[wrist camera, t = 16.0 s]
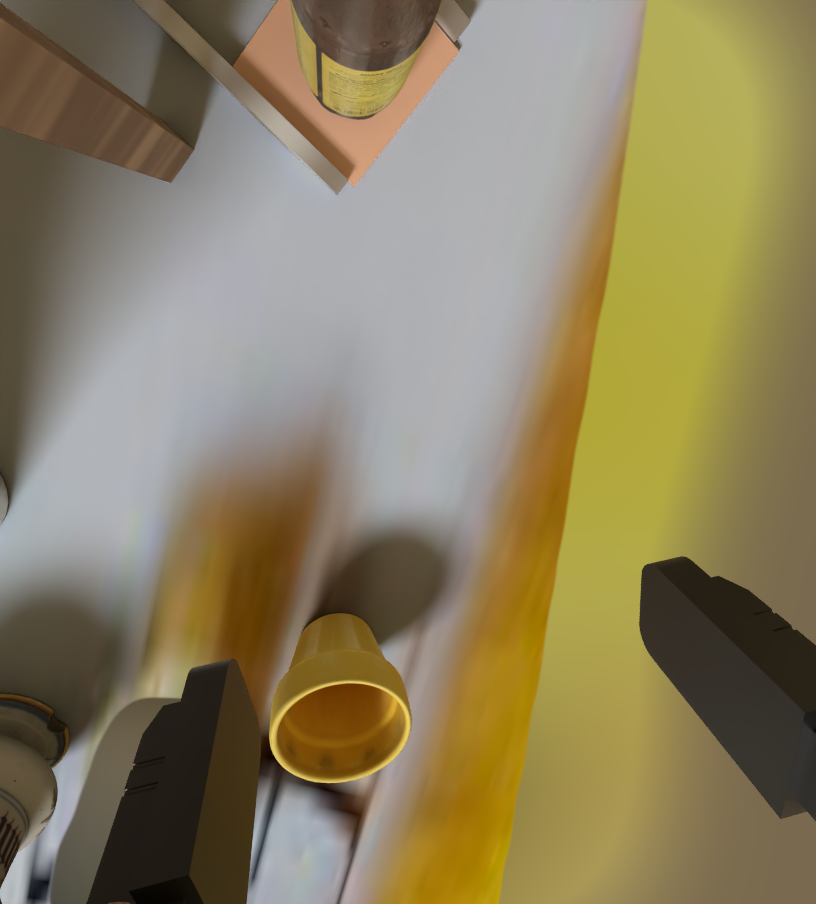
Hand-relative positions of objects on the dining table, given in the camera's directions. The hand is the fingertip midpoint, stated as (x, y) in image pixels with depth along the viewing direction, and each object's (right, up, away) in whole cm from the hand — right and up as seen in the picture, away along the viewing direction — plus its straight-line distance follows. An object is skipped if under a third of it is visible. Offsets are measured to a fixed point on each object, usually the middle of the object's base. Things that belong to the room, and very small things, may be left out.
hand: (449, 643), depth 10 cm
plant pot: (-7, -13, +37) cm, 40 cm away
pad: (-4, +27, +21) cm, 34 cm away
